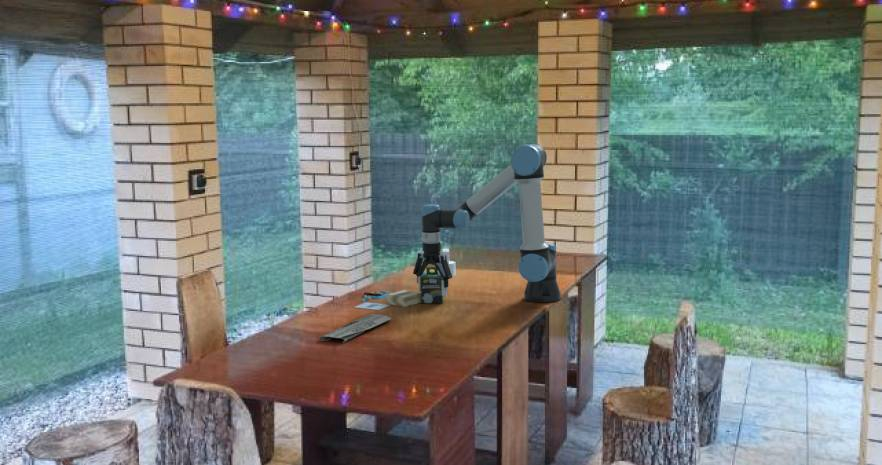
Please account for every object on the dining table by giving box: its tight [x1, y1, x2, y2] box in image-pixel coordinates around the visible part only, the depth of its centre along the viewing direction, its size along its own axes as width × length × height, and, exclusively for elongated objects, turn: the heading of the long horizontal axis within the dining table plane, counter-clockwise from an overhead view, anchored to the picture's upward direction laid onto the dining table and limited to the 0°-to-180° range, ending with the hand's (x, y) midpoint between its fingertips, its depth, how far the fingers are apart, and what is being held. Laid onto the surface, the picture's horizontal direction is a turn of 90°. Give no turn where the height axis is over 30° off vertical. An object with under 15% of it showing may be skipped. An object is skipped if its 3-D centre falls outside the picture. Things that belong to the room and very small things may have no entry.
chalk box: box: [420, 266, 446, 304], centre depth 352 cm, size 9×9×15 cm
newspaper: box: [318, 313, 393, 344], centre depth 309 cm, size 35×12×4 cm, turn 156°
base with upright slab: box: [438, 248, 457, 277], centre depth 408 cm, size 9×9×12 cm
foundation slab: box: [386, 289, 422, 308], centre depth 351 cm, size 10×10×4 cm
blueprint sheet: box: [353, 301, 391, 311], centre depth 347 cm, size 12×9×1 cm
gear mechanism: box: [361, 285, 390, 303], centre depth 365 cm, size 20×5×9 cm
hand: (432, 293), depth 353 cm, fingers closed on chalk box, 12 cm apart
